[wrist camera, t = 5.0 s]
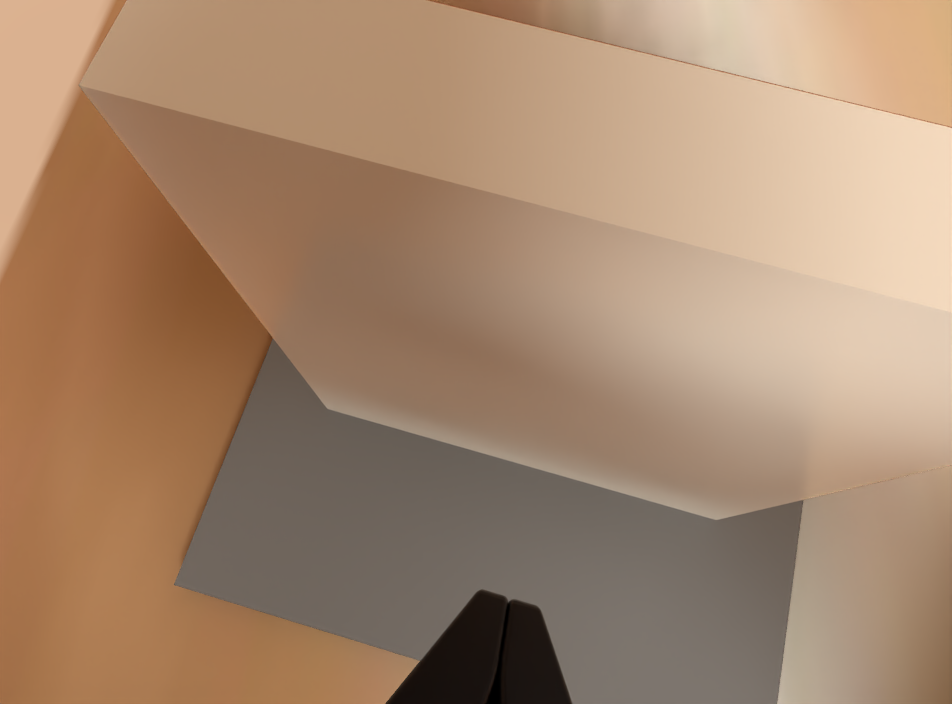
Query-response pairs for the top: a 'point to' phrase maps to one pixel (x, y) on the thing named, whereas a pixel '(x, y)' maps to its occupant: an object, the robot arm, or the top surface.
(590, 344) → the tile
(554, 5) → the top surface
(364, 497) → the mat
